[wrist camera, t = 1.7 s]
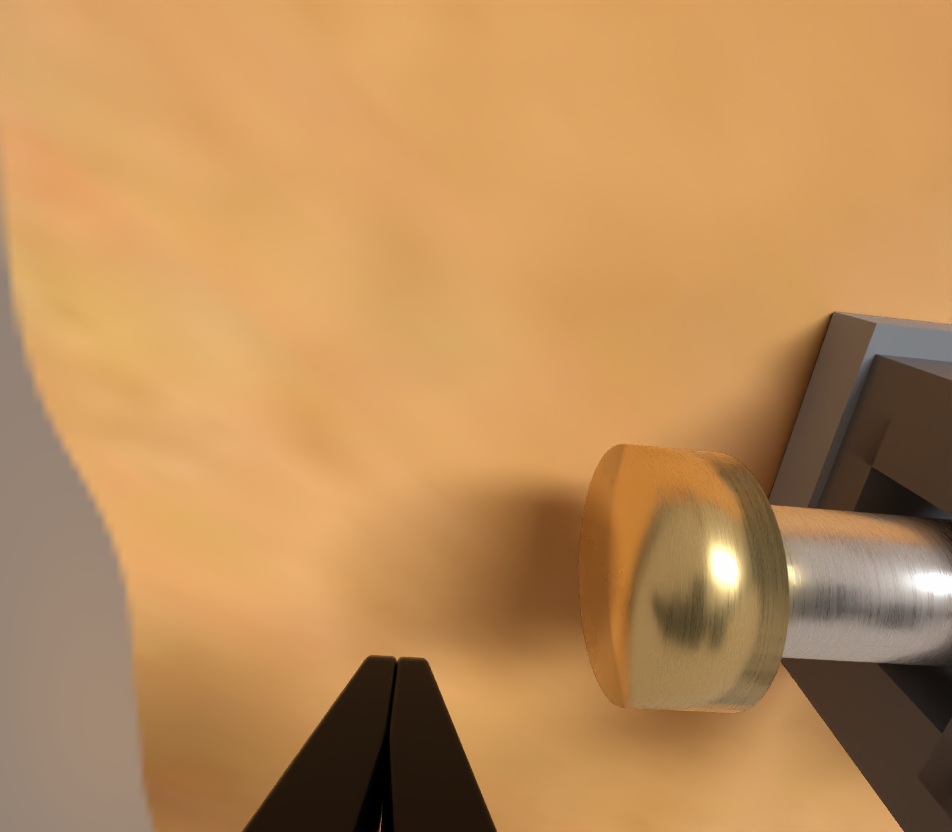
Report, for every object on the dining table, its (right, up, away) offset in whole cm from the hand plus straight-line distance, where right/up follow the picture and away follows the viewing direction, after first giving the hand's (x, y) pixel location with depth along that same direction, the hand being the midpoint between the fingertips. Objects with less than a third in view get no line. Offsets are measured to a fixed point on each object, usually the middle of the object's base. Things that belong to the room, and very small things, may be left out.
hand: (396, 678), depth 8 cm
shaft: (+11, +1, +6) cm, 13 cm away
